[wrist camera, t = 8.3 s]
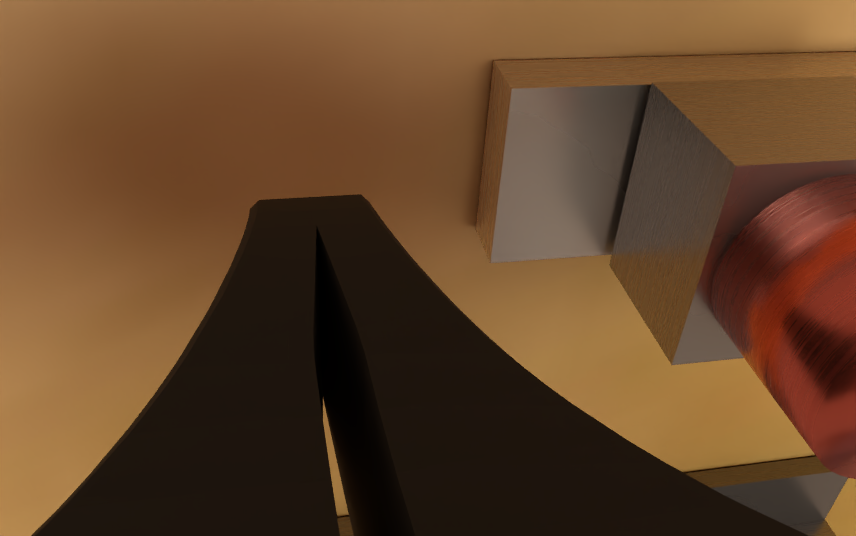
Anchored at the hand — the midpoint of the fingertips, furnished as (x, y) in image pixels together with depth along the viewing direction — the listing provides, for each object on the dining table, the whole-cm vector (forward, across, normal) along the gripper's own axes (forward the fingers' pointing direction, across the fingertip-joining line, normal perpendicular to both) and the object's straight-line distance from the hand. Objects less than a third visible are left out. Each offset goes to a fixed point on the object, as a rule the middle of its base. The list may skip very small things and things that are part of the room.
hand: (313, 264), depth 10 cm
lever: (+2, -7, 0) cm, 7 cm away
